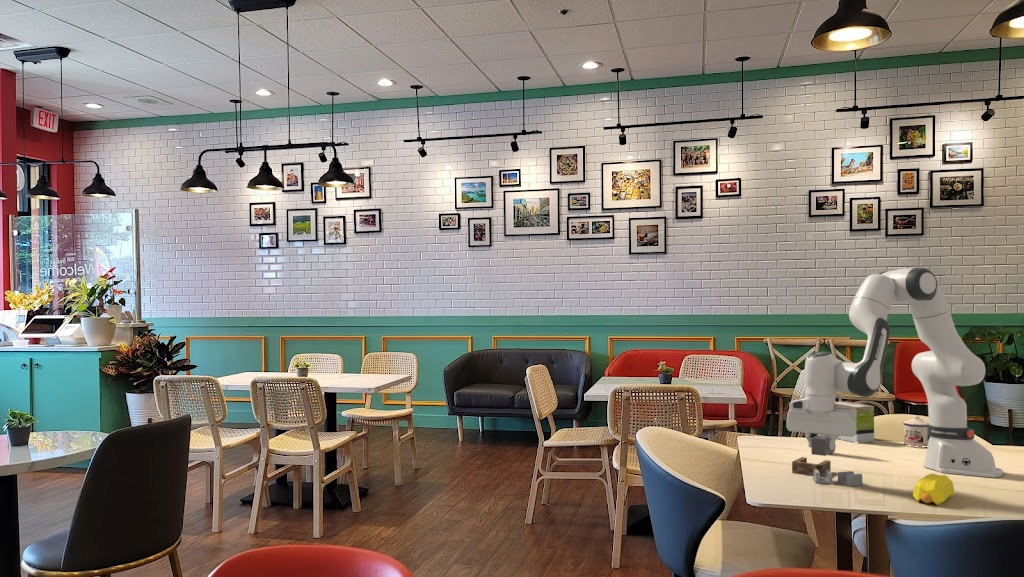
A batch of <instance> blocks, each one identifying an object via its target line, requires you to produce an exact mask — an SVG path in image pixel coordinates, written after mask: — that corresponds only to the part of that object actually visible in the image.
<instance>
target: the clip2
mask: <svg viewBox="0 0 1024 577" xmlns="http://www.w3.org/2000/svg"><path fill="white" fill-rule="evenodd" d="M812 480H813V482H814V483H815V484H821V485H834V481H833V472H832V471H831V472H830V470H826V474H825V477H820V472H819V471H818V470H817V469H814V476H812Z"/></svg>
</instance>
